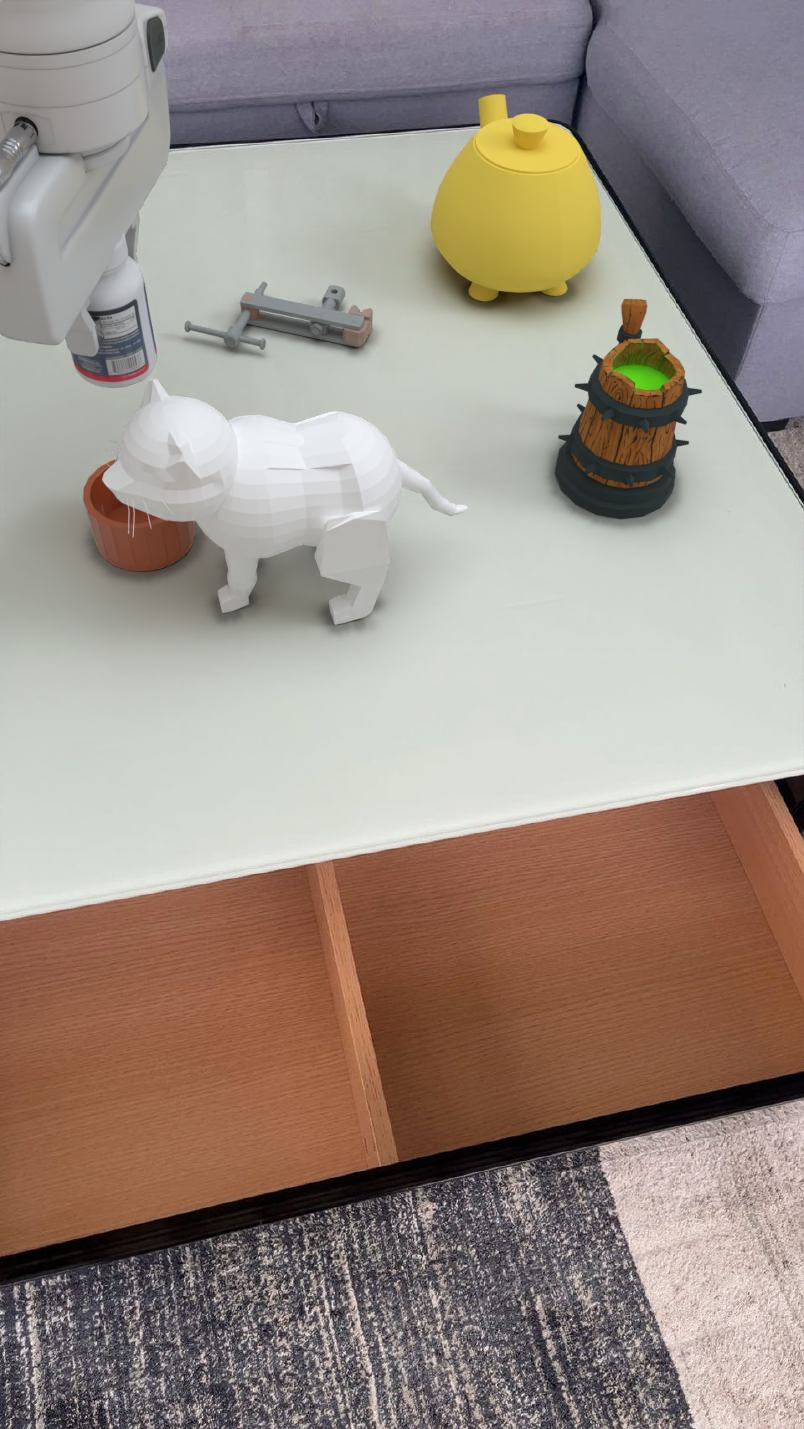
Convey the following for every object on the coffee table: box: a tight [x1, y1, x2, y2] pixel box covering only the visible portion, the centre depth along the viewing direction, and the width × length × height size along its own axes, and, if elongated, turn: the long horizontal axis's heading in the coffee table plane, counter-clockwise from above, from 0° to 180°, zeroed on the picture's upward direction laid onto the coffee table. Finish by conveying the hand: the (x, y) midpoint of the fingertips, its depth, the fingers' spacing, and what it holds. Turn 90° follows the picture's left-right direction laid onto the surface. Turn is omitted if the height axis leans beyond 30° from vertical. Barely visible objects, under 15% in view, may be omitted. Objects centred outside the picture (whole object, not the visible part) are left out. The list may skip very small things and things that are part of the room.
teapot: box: [430, 93, 602, 302], centre depth 97 cm, size 20×16×14 cm
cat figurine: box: [91, 377, 469, 625], centre depth 71 cm, size 25×10×17 cm, turn 107°
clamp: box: [184, 281, 374, 351], centre depth 93 cm, size 15×2×10 cm
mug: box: [554, 298, 703, 520], centre depth 82 cm, size 13×10×12 cm
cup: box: [82, 458, 196, 572], centre depth 78 cm, size 7×7×4 cm
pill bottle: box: [70, 233, 158, 389], centre depth 65 cm, size 5×5×9 cm
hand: (106, 314), depth 65 cm, fingers closed on pill bottle, 5 cm apart
